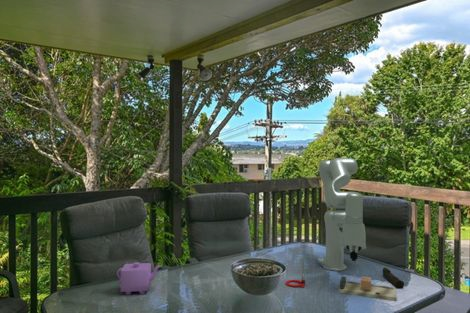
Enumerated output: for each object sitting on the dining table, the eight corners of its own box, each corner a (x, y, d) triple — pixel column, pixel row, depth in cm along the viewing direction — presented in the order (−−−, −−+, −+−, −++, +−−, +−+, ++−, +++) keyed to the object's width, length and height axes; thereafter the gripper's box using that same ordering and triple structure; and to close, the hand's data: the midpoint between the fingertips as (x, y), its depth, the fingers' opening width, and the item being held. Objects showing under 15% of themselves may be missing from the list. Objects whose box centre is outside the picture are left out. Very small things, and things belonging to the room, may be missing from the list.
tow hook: (284, 287, 167) (304, 288, 165) (283, 259, 167) (303, 260, 165) (286, 281, 175) (305, 282, 173) (285, 255, 175) (304, 256, 173)
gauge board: (338, 292, 160) (338, 282, 160) (341, 283, 171) (341, 274, 171) (396, 301, 151) (396, 290, 151) (395, 291, 162) (395, 281, 162)
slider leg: (360, 290, 158) (360, 281, 158) (361, 284, 165) (361, 276, 165) (370, 291, 157) (370, 282, 157) (370, 286, 163) (370, 277, 163)
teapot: (114, 295, 155) (114, 267, 154) (119, 287, 165) (119, 260, 165) (161, 293, 157) (161, 265, 157) (163, 285, 167) (163, 258, 167)
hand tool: (404, 289, 165) (404, 279, 165) (395, 289, 166) (395, 279, 166) (388, 275, 184) (388, 266, 184) (380, 275, 184) (381, 266, 184)
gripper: (336, 220, 163) (336, 260, 162) (371, 222, 157) (371, 264, 157) (338, 218, 170) (337, 256, 169) (371, 220, 164) (371, 260, 163)
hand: (353, 260), depth 163 cm, fingers closed
